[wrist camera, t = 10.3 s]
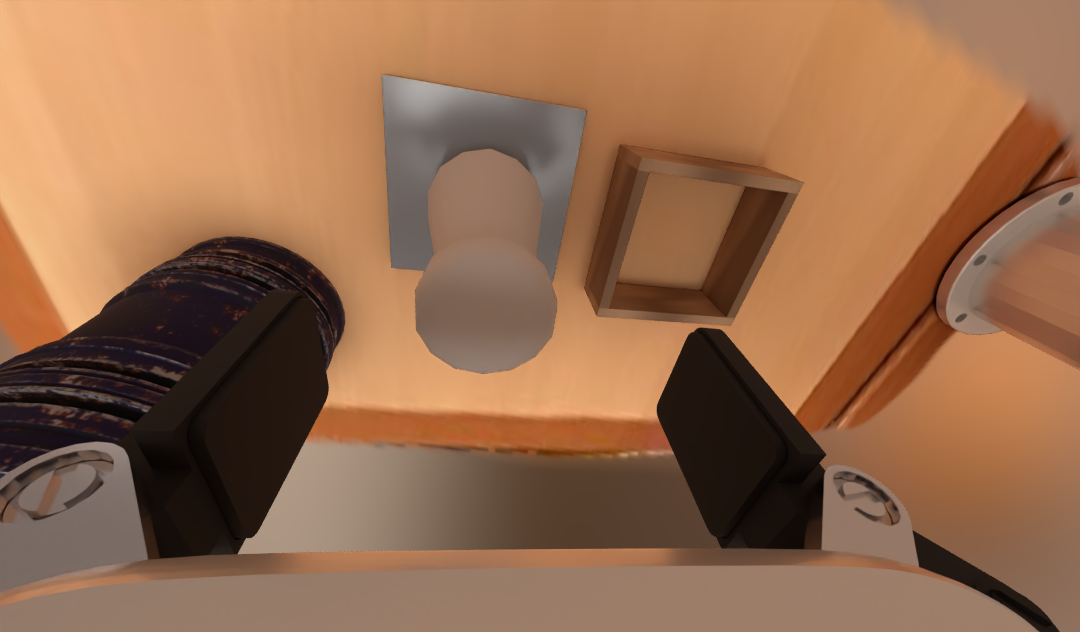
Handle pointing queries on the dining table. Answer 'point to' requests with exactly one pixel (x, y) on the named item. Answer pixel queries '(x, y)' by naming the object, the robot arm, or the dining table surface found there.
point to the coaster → (468, 125)
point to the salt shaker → (485, 266)
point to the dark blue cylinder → (147, 345)
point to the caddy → (733, 262)
